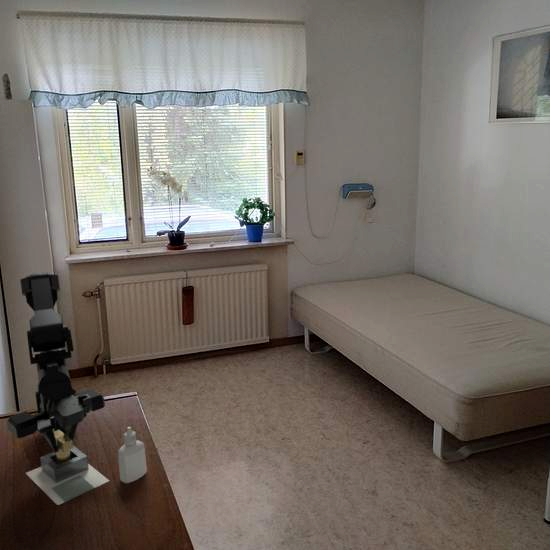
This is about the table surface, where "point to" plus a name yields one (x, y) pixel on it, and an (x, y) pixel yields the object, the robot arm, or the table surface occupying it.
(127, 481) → the eye dropper bottle
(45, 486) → the board
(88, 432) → the table surface
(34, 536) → the table surface
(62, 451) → the tan flat lever
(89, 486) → the mat
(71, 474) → the grey square frame
